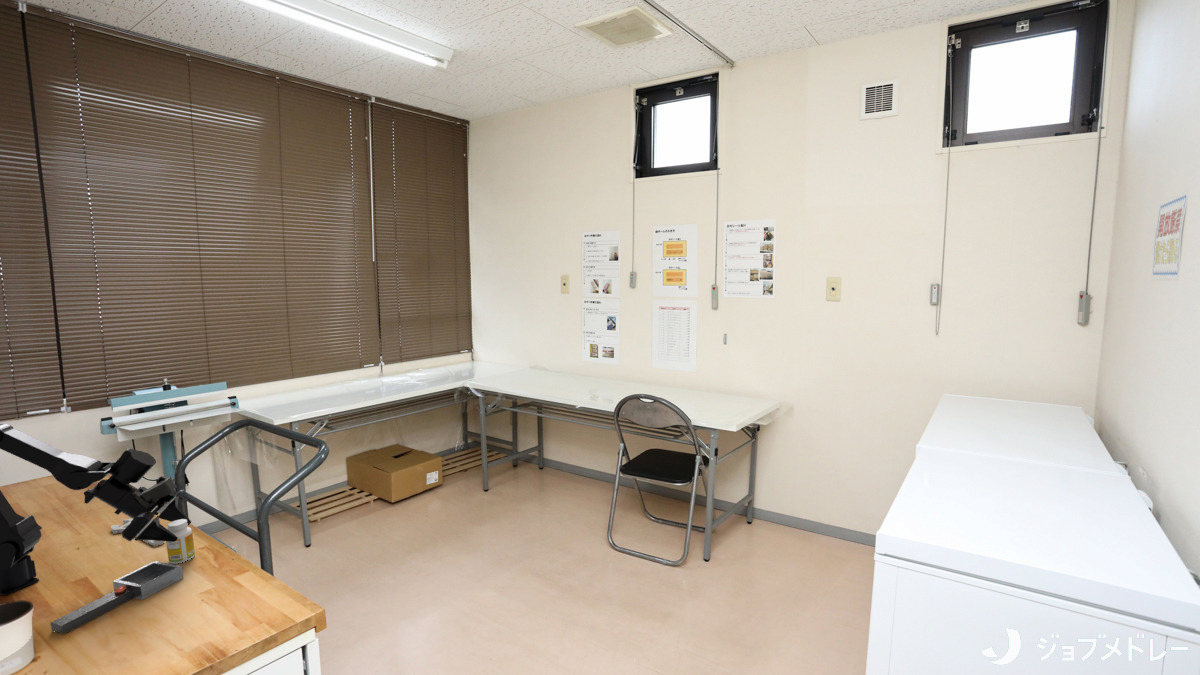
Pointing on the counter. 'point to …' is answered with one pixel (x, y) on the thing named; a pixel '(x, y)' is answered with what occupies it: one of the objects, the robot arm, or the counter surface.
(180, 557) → the supplement bottle
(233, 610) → the counter surface
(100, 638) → the counter surface
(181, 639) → the counter surface
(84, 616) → the grey rectangular scoop
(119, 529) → the adjustable wrench
